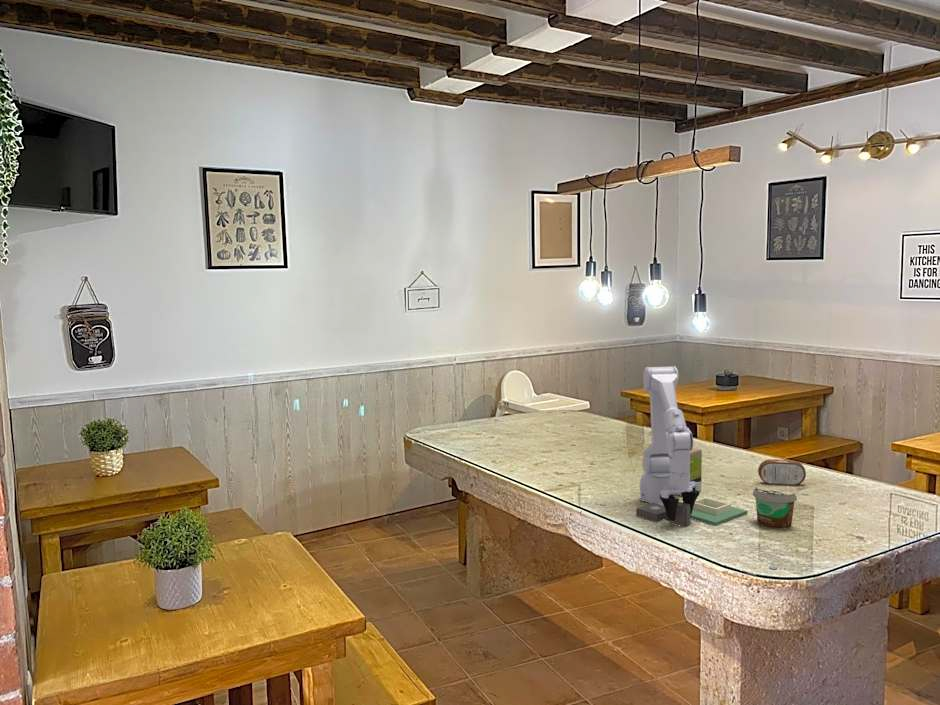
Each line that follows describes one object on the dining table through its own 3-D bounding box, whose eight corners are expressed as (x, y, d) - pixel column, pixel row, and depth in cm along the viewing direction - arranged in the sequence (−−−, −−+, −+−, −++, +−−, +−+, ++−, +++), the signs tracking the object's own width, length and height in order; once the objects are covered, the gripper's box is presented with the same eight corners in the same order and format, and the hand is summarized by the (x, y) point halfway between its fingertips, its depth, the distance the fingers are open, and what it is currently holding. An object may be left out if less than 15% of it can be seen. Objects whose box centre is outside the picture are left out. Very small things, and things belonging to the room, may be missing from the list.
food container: (745, 523, 214) (745, 490, 213) (754, 518, 219) (754, 485, 218) (787, 533, 206) (788, 498, 205) (796, 527, 210) (797, 493, 209)
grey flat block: (636, 515, 224) (636, 507, 224) (653, 510, 229) (653, 502, 228) (662, 524, 216) (662, 515, 216) (680, 518, 221) (680, 509, 220)
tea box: (647, 488, 251) (646, 446, 250) (664, 482, 258) (664, 441, 256) (685, 498, 240) (685, 453, 238) (702, 491, 246) (702, 448, 245)
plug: (669, 522, 217) (669, 502, 216) (675, 520, 219) (675, 500, 218) (685, 527, 212) (685, 507, 212) (691, 525, 214) (692, 505, 214)
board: (670, 512, 226) (670, 503, 226) (702, 501, 235) (702, 492, 235) (715, 525, 213) (715, 515, 213) (747, 513, 223) (747, 504, 222)
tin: (804, 484, 251) (805, 460, 250) (806, 486, 248) (806, 462, 247) (757, 482, 255) (758, 458, 255) (758, 484, 252) (759, 460, 252)
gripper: (675, 479, 207) (675, 525, 208) (706, 469, 215) (706, 514, 217) (655, 474, 212) (655, 519, 214) (686, 465, 221) (686, 509, 222)
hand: (679, 517), depth 216 cm, fingers open, 7 cm apart
